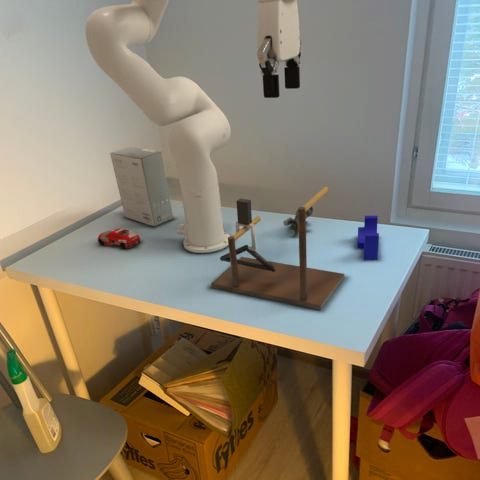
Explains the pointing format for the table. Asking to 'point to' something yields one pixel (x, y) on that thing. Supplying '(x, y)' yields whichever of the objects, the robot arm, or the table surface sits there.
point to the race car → (119, 238)
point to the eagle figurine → (296, 221)
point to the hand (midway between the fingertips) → (282, 92)
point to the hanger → (246, 220)
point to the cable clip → (369, 238)
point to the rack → (281, 273)
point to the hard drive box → (142, 185)
